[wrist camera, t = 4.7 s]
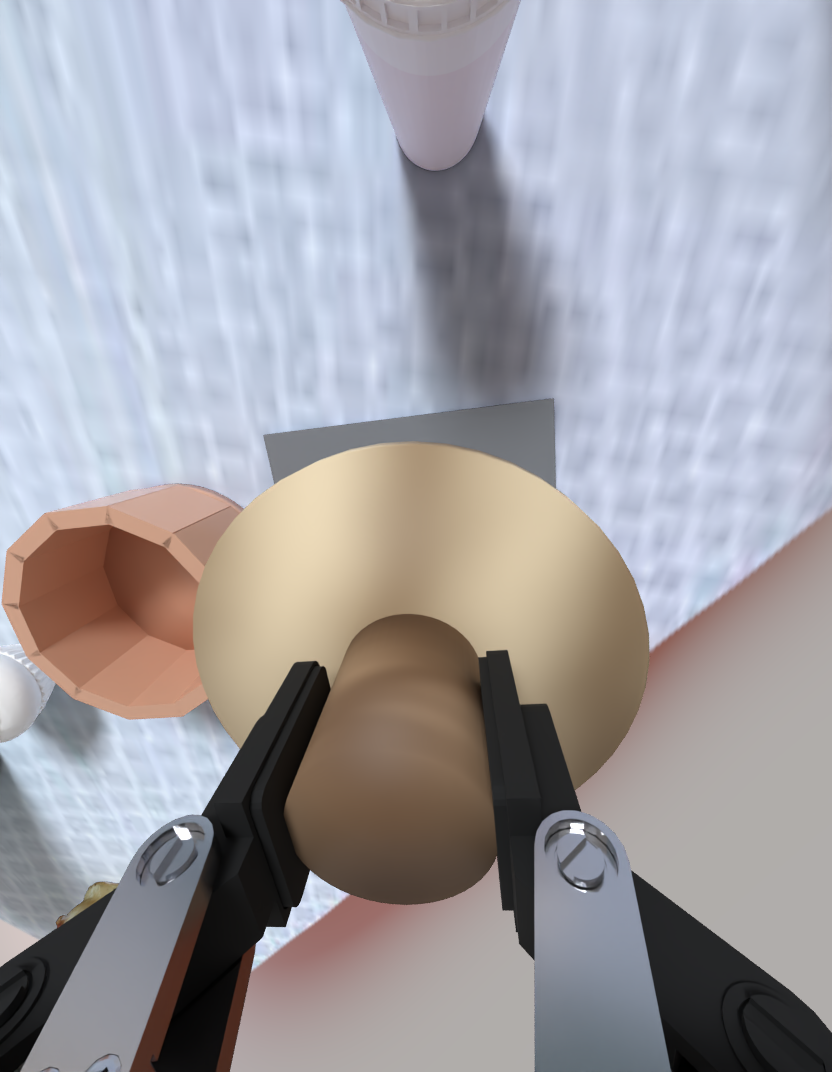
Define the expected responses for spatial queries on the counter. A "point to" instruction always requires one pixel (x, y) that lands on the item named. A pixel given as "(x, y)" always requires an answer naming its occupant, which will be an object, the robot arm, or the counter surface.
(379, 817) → the lid
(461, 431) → the mat
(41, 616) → the bowl
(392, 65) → the smoothie
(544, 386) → the counter surface
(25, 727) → the white cupcake
